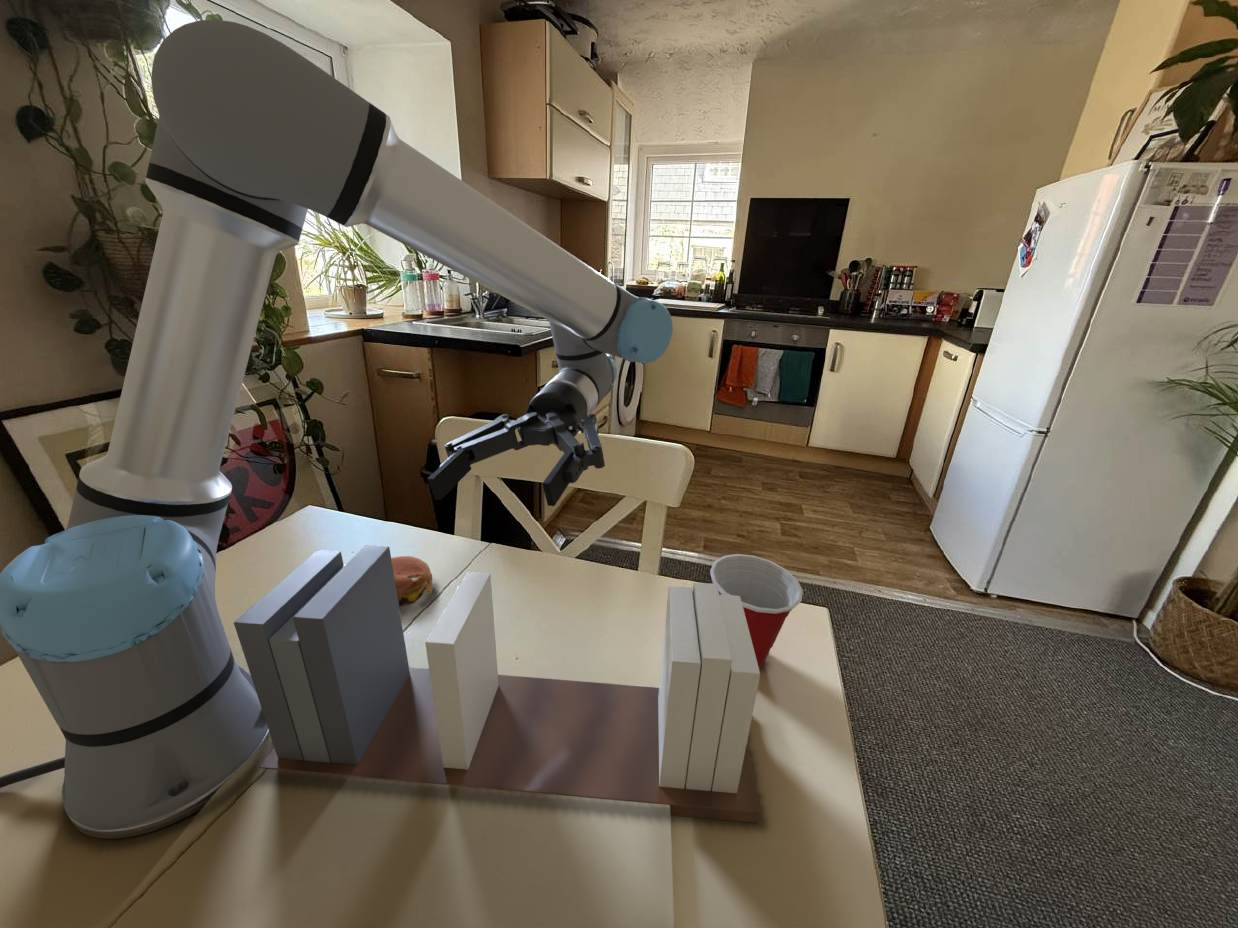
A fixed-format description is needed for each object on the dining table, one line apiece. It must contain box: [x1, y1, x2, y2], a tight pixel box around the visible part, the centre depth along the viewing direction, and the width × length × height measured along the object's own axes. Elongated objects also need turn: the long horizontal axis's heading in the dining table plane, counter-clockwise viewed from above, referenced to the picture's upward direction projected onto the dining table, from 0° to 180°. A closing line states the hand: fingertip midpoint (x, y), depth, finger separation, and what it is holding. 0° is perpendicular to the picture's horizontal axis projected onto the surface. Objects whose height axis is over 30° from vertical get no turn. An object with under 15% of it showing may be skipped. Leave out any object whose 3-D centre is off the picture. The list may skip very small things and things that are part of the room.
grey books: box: [233, 544, 410, 765], centre depth 48 cm, size 8×11×17 cm
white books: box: [658, 582, 761, 793], centre depth 47 cm, size 7×10×16 cm
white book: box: [425, 571, 499, 770], centre depth 48 cm, size 2×10×15 cm, turn 176°
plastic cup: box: [709, 553, 804, 669], centre depth 61 cm, size 11×11×12 cm
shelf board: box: [258, 667, 761, 824], centre depth 51 cm, size 46×13×2 cm, turn 86°
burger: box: [391, 555, 434, 607], centre depth 71 cm, size 10×9×5 cm
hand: (488, 492), depth 51 cm, fingers open, 13 cm apart
